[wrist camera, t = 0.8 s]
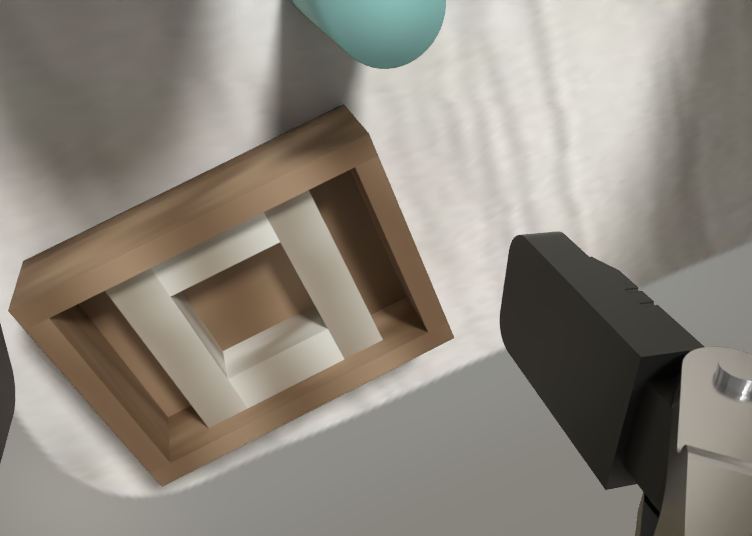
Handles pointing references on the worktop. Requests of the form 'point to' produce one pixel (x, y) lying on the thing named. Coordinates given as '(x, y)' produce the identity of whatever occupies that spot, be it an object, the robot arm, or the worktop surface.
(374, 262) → the box
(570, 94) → the worktop surface
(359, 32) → the peg
